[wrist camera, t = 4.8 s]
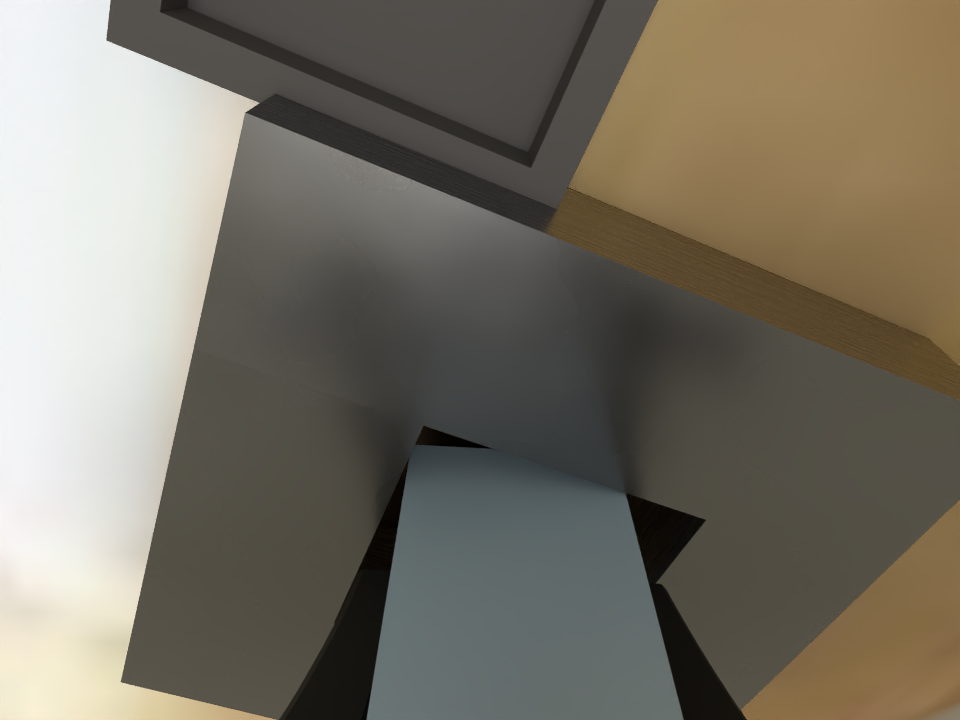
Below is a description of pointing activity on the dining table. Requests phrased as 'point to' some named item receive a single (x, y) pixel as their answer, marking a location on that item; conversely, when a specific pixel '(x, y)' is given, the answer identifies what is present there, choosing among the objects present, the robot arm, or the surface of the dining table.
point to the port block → (516, 409)
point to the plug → (516, 599)
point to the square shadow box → (415, 70)
